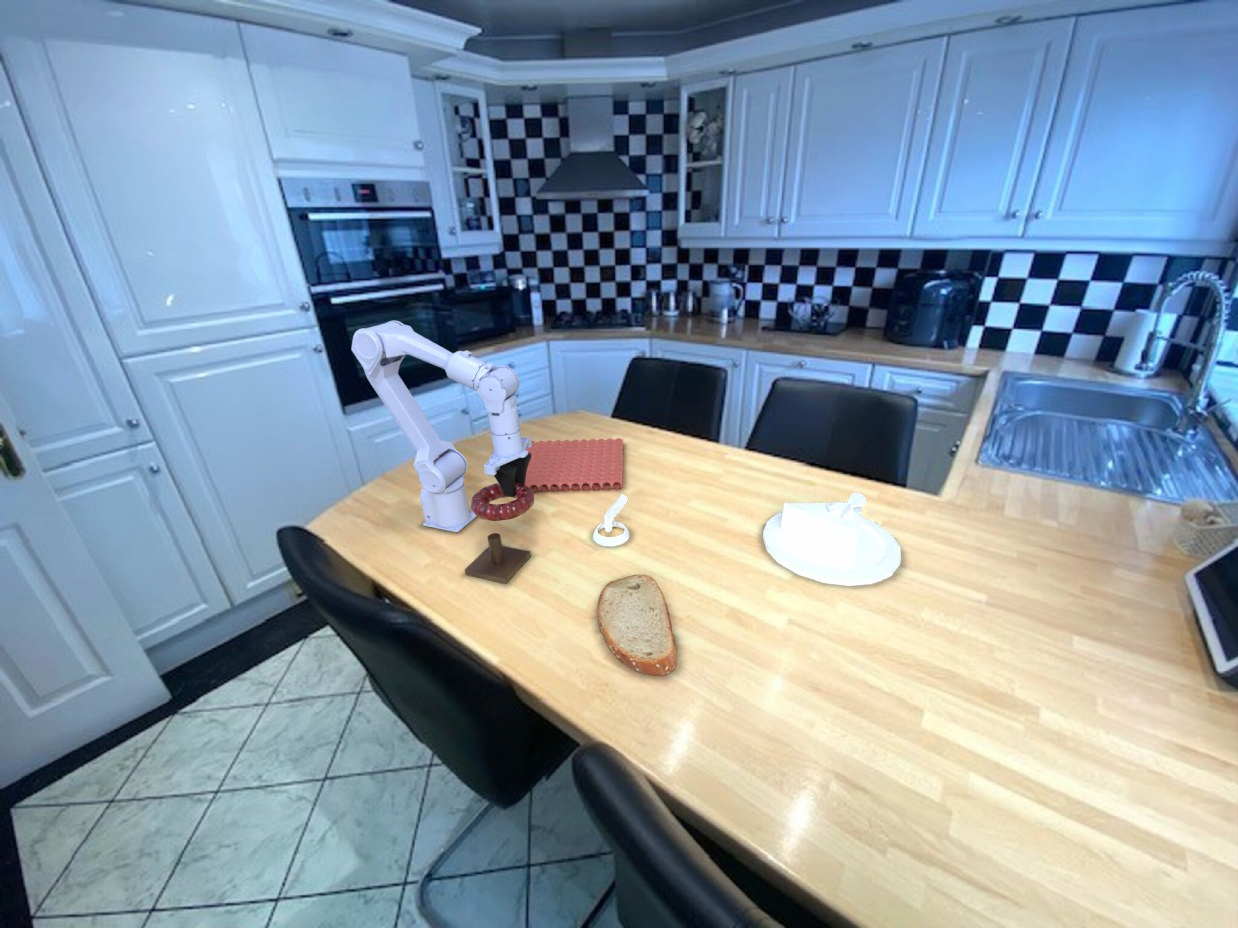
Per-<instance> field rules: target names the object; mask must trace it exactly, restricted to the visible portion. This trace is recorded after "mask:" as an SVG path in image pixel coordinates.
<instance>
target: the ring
mask: <svg viewBox="0 0 1238 928" xmlns="http://www.w3.org/2000/svg"><path fill="white" fill-rule="evenodd" d="M505 498H513V499H514V500H511V501H509V502H505V503H496V504H495V503H491V502H494V501H496V500H499V499H505ZM534 505H535V492H533V490H532V489H530V488H529V487H527V486H526V485H524V484H522V483H516V482H515V496H514V497H509V496H505V495H504V493H503V491H502V489H501V487H500V485H499V483H498V482H496V483H492V484H490V485H487V486H484V487H482V488H481V489H480V490H478V491H477V492H475V493H474V494H473V496H471V501H470V507H469V508H470V511H472V512H473V513H474V514H475V515H477V517H478V518H479V519H481V520H483V521H490V522H502V521H510V520H513V519H516V518H518V517H521V516H523V515H525V514H526V513H527V512H528V511H529V510H531V508H532V507H533V506H534Z"/></svg>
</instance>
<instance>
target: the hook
mask: <svg viewBox="0 0 1238 928" xmlns="http://www.w3.org/2000/svg"><path fill="white" fill-rule="evenodd" d="M628 503H629V498H628V496H627V495H626V494H624V493H622V494H621V495H619V497H618V498H617V499H616V500H615V501H614V503H613V504H612V505H611V506H610V508H609V509H608V510H607V511H606V512H605V514H604V515H603V522H602V523H600V524H598V525H597V526H596V528H595V529H594V531H593V534H592V539H593V541H594V542H595V543H596V544H598V545H599V546H601V547H618V546H620V545H624V544H625V543H626V542H628V540H629V539H630V535H631V533H630V532H629V529H628V527H627V526H626V525H625V524H624V523H622V522H619V521H615V517H616V516H617V515H619V513H620V512H621V511H622V510H623V508H624V507H626V505H627V504H628ZM613 528H620V529H622V530H623V532H622V533H621V534H619V535H616V536H603V535H602V534H600V533H599V531H601V530H603V529H604V532H605V533H611V532H613Z"/></svg>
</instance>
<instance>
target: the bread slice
mask: <svg viewBox="0 0 1238 928" xmlns="http://www.w3.org/2000/svg"><path fill="white" fill-rule="evenodd" d="M596 606H597V608H596V609H597V610H596V611H597V622H598V628H599V631H600V632H601V633H602V635H603V636H604V641H605V644H606V645H607V647H608V649H609V651H610V652H612V654H613V655H614V656H615V657H616V658H617V659H618V660H619V661H620V662H621V663H622V664H624V665H626V666H627V667H628V668H631V669H633V670H634V671H636V672H640V673H643V674H646V675H651V676H661V677H663V676H664V675H667V674H668V675H669V674H670V673H672V672H673V671H675V669H676V668H677V662H678V661H677V646H676V641H675V640H676V639H675V635H674V632H673V627H672V622H671V619H670V618H671V617H670V613H669V608H668V605H667V602H666V598H665V595H664V593H663V592H662V590H661V589H660V587H659V584H658V583H657V582H656V580H655V579H654V578H653V577H652V576H650V575H648V574H633V575H630V576H626V577H623V578H619V579H615V580H611V581H610V582H608V583H607V584H606V585H605V586H604V588H602V590H601V592H600V594H599V597H598V603H597V605H596Z"/></svg>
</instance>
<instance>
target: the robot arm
mask: <svg viewBox="0 0 1238 928" xmlns="http://www.w3.org/2000/svg"><path fill="white" fill-rule="evenodd" d="M351 352H352V353H353V355H354V356H355V357H356V359H357V360H358V362H359V363H360V365H361V366H362V369H363V371H364V374H365V377H366V378H367V380H368V382H369V384H370V385H371V387H372V388H373V390H374V391H375V393H376V394H377V396H378V397H379V399H380V400H381V401H382V403H383V405H384V406H385V408H386V409H387V410H388V412H389V413H390V415H391V417H392V418H393V420H394V421H395V423H396V424H397V425H398V427H399V429H400V430H401V432H402V433H403V435H404V436H405V438H406V440H408V442H409V443H410V446H411V447H412V448H413V450H414V451H415V458H414V461H413V465H412V466H413V469H414V470H415V472H416V473H417V478H418V482H419V483H420V485H421V487H422V488H421V490H420V494H419V500H420V505H421V509H422V513H423V517H424V522H423V523H422V525H423V527H429V528H434V529H439V530H444V531H448V532H453V533H459V532H460V531H462V530H463V529H464V528H465V527H466V526H467V525H469V524H470V523H471V522H472V521H473V520H474V519H475V518H477V517H478V516H477V515H475V514H474V513H473V512H472V511H471V510H470V507H469V501H468V497H467V491H466V485H465V482H464V481H465V479H466V478H465V474H466V473H467V471H468V468H469V464H468V460H467V458H466V457H465V455H464V454H463V453H461V452H460V451H459V450H457V448H456V447H455V446H454V444H453V443H452V442H450V441H447V440H443V439H441V438H440V437H439V435H438V434H437V432H436V431H435V429H434V427H433V426H432V424H431V423H430V421H429V420H428V418H427V417H426V415H425V414H424V412H423V410H422V409H421V407H420V406H419V404H418V402H417V401H416V400H415V398H414V397H413V395H412V394H411V391H410V390H409V389H408V387H407V385H406V384H405V382H404V381H403V379H402V378H401V376H400V374H399V370H400V367H401V363H402V362H403V360H404V358H405V357H406V356H407V355H409V356H411V357H413V358H416V359H419V360H421V361H423V362H426V363H428V364H431V365H433V366H435V367H438V368H441V369H443V370H444V371H445V373H446V376H447V378H448V379H450V380H452V381H454V382H456V383H459V384H460V385H462V386H464V387H467V388H469V389H470V390H472V391H475V392H477V395H478V396H479V398H480V399H481V401H483V403H484V406H485V410H486V411H487V418H488V424H489V430H490V436H491V443H492V449H493V451H492V452H491V453H492V454H491V455H490V456H489V459H488V460H487V462H486V463H485V464H484V465H483V469H484V474H485V475H488V476H493V478H495V480H496V481H497V483H499V485H500V487H501V489H502V491H503V493H504V495H505V496H509V497H508V498H511V497H514V496H515V482H516V483H522V484H524V485H525V479H526V472H527V468H528V464H529V462H530V459H531V454H530V453H528V451H525V450H526V448H530V447H531V446H532V444H531V441H532V438H531V437H526V436H522V432H521V431H522V430H521V425H520V418H519V417H520V416H519V409H518V408H519V407H518V402H517V401H518V400H517V395H516V393H517V392H518V390H519V388H520V378H519V375H518V374H517V373H516V371H515V370H514V369H512V368H510V366H508V365H505V364H504V365H499V366H495V364H494V363H492V362H491V361H490V362H486V361H484V360H482V359H480V358H477V357H475V356H474V355H473V353H472V351H469V350H458V351H455V352H451V350H450V351H449V350H448V349H446V348H445V347H443V346H440V345H438V344H437V343H435V342H433V341H431V340H430V339H428V338H426V337H424V336H423V335H421V334H419V333H417V332H415V331H414V329H413V328H412V326H410V325H407V324H404V323H402V322H401V321H399V320H390V321H386V322H384V323H381V324H378V325H374V326H370V327H365V328H363V327H362V328H359V329H358V330H356V331H354V334H353V336H352V343H351Z"/></svg>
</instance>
